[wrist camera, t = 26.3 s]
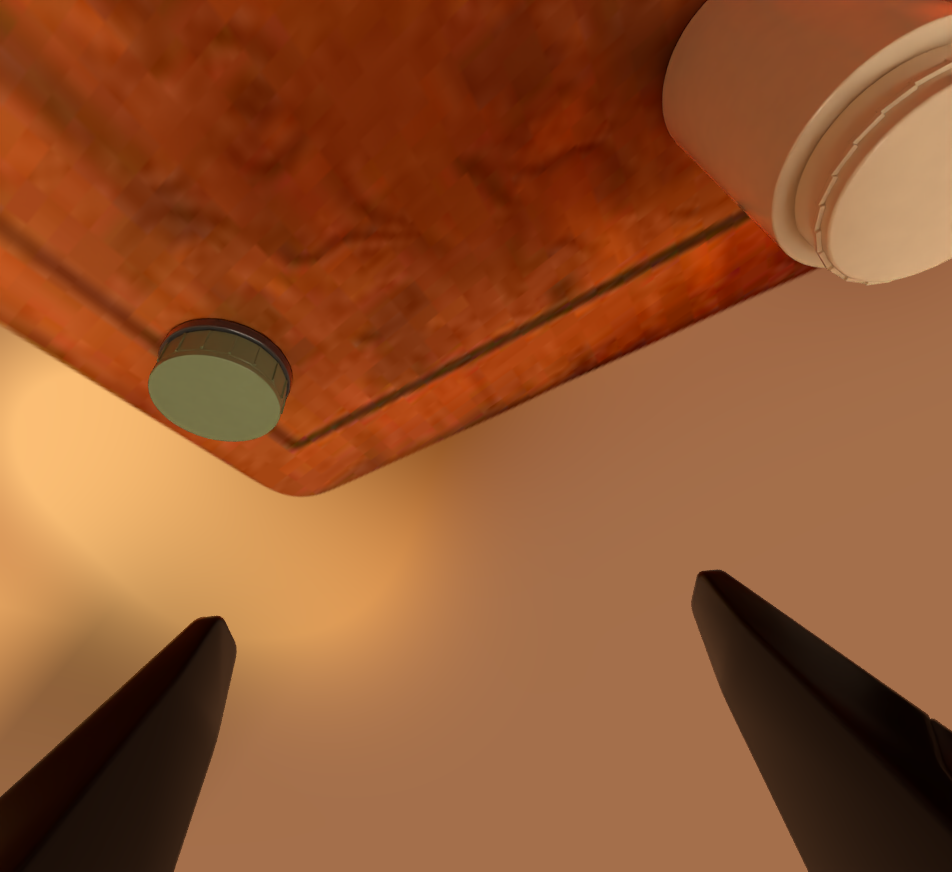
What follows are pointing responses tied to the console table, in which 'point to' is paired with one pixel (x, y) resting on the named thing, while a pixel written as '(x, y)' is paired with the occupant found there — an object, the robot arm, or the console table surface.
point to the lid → (218, 386)
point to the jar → (825, 125)
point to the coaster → (236, 330)
